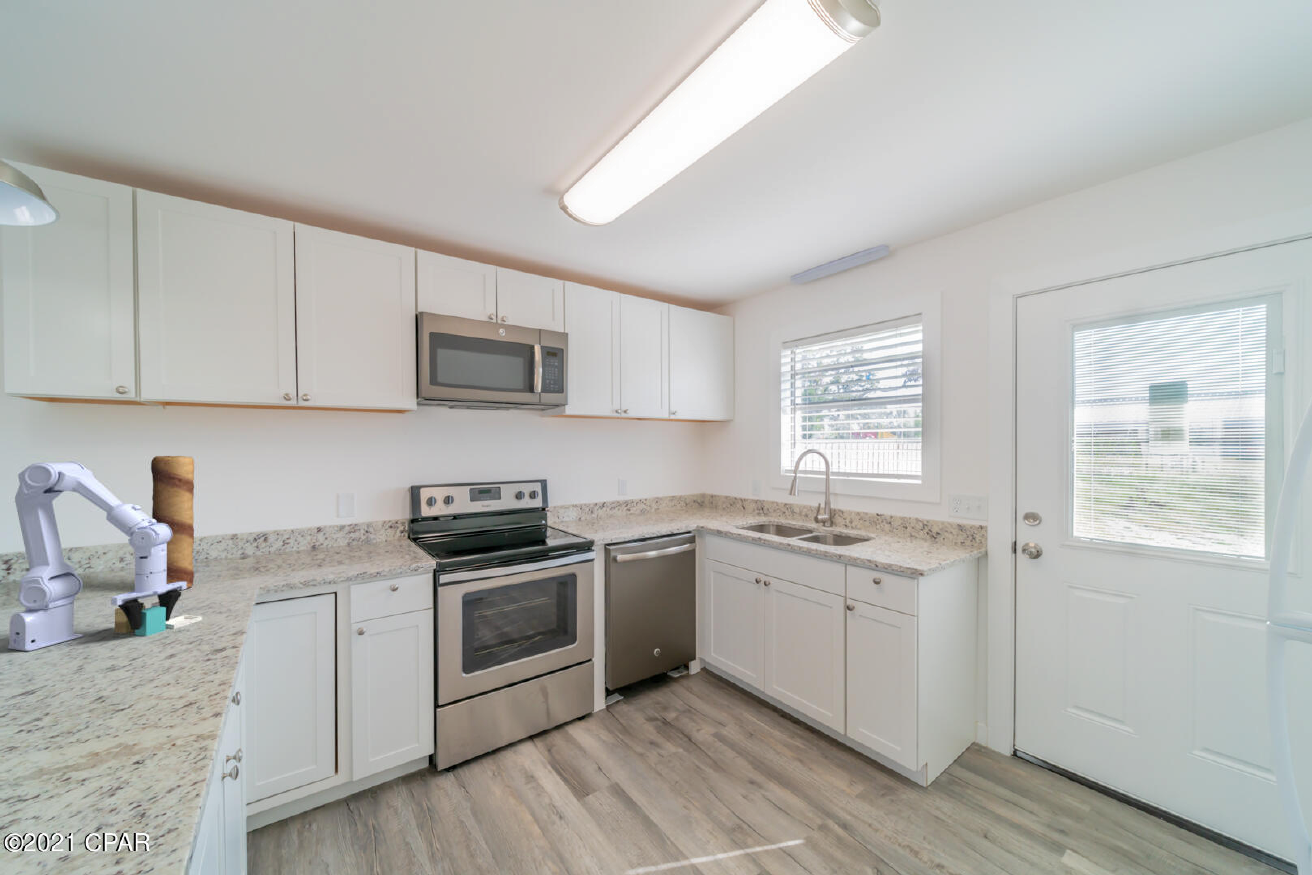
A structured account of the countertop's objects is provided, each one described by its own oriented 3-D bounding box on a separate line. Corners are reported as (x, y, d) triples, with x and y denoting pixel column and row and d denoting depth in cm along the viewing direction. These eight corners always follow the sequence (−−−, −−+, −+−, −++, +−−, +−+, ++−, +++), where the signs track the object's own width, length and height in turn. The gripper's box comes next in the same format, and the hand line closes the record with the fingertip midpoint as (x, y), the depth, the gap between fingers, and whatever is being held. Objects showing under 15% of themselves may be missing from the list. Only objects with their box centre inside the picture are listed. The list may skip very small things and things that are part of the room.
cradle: (174, 628, 129) (174, 624, 129) (156, 626, 131) (156, 622, 131) (201, 620, 135) (201, 616, 135) (184, 618, 137) (184, 614, 137)
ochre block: (125, 633, 126) (125, 610, 126) (114, 632, 127) (115, 609, 127) (145, 628, 130) (145, 605, 130) (134, 626, 131) (134, 604, 131)
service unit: (163, 623, 133) (163, 604, 133) (150, 621, 134) (150, 603, 134) (183, 617, 137) (183, 599, 138) (170, 616, 139) (170, 598, 139)
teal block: (146, 636, 124) (146, 612, 124) (135, 634, 125) (135, 611, 125) (165, 630, 128) (165, 607, 128) (154, 629, 129) (154, 606, 129)
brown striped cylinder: (150, 589, 166) (151, 456, 167) (193, 583, 174) (194, 455, 174) (149, 595, 159) (150, 456, 160) (194, 588, 166) (195, 455, 167)
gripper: (125, 580, 119) (125, 636, 119) (194, 565, 133) (194, 616, 133) (105, 578, 121) (104, 634, 120) (176, 564, 135) (175, 614, 134)
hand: (150, 624), depth 127 cm, fingers open, 5 cm apart
